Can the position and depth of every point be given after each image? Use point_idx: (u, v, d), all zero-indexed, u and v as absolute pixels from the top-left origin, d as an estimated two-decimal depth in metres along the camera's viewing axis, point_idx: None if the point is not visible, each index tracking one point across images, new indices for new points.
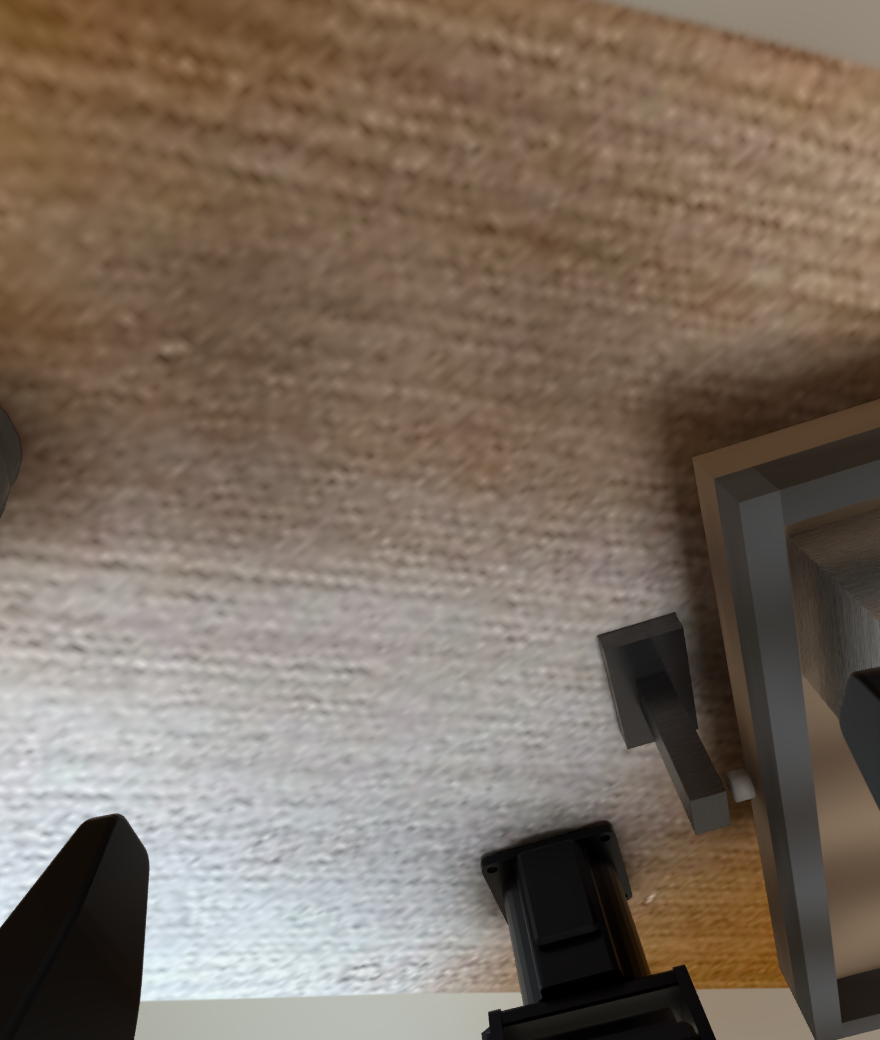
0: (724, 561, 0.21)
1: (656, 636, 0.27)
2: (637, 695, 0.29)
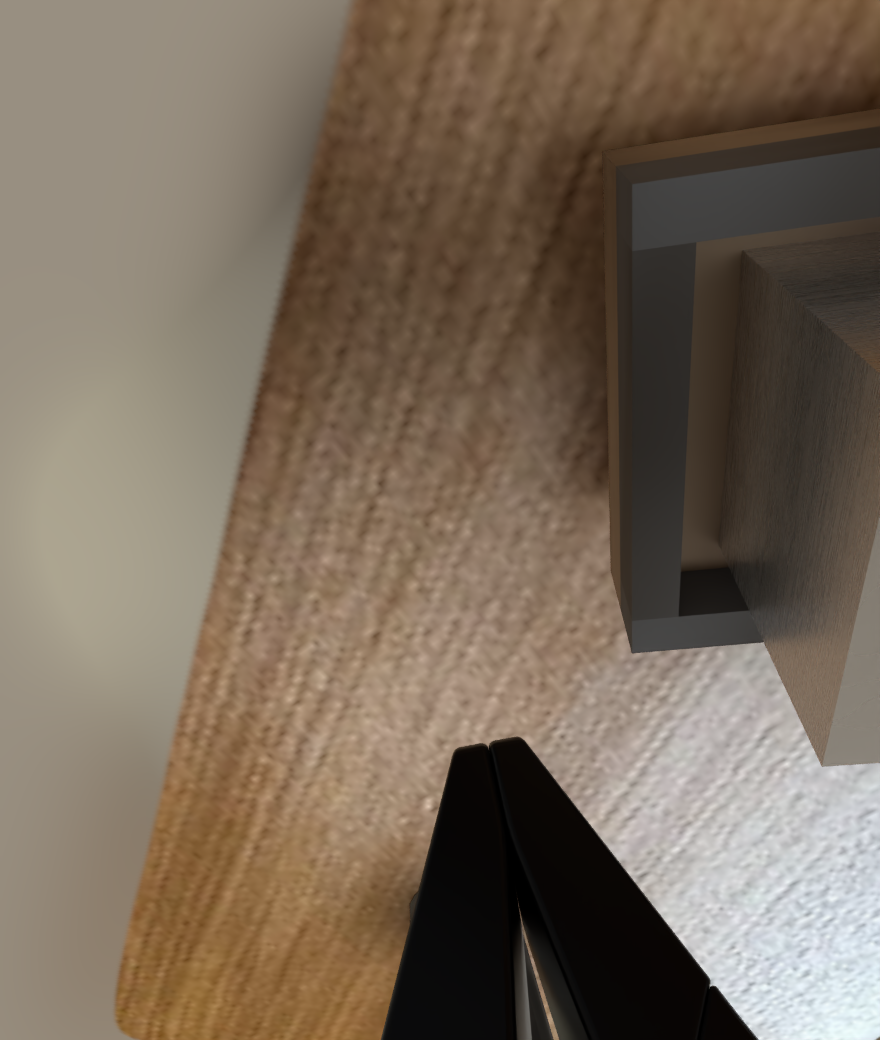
0: None
1: None
2: None
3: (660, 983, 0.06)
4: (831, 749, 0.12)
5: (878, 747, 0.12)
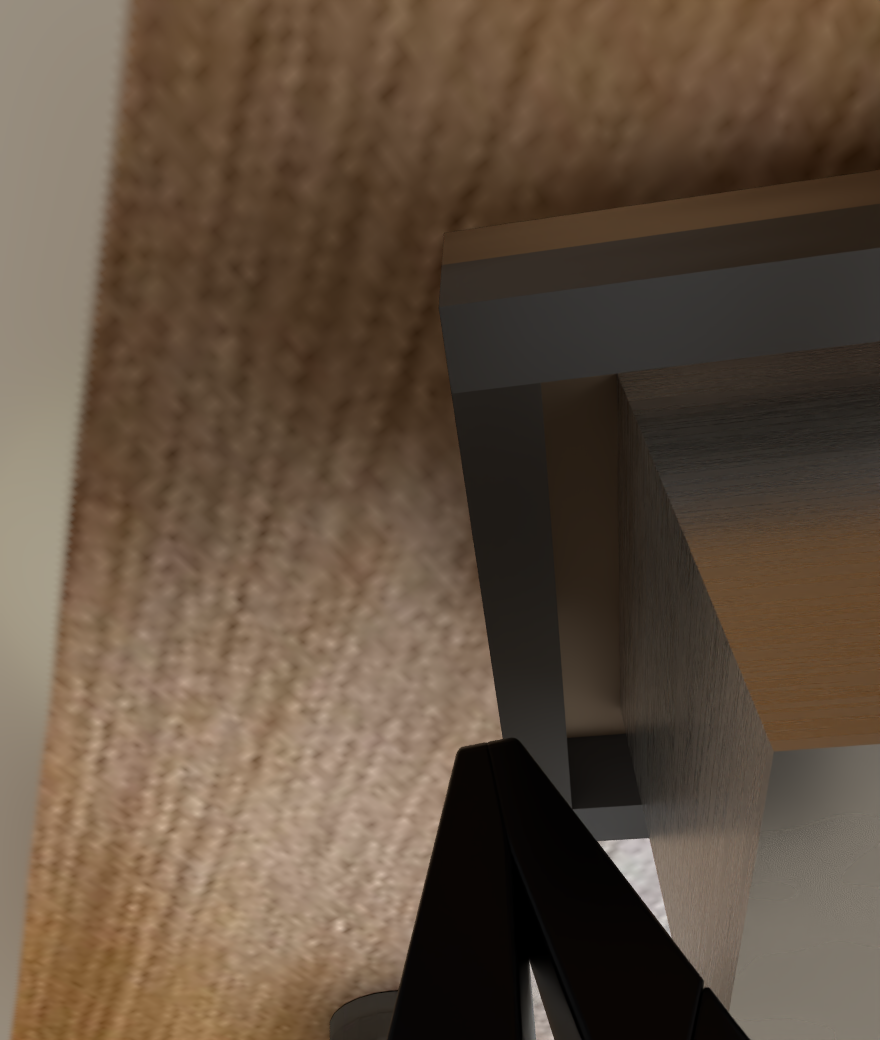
0: None
1: None
2: None
3: (654, 984, 0.06)
4: None
5: None
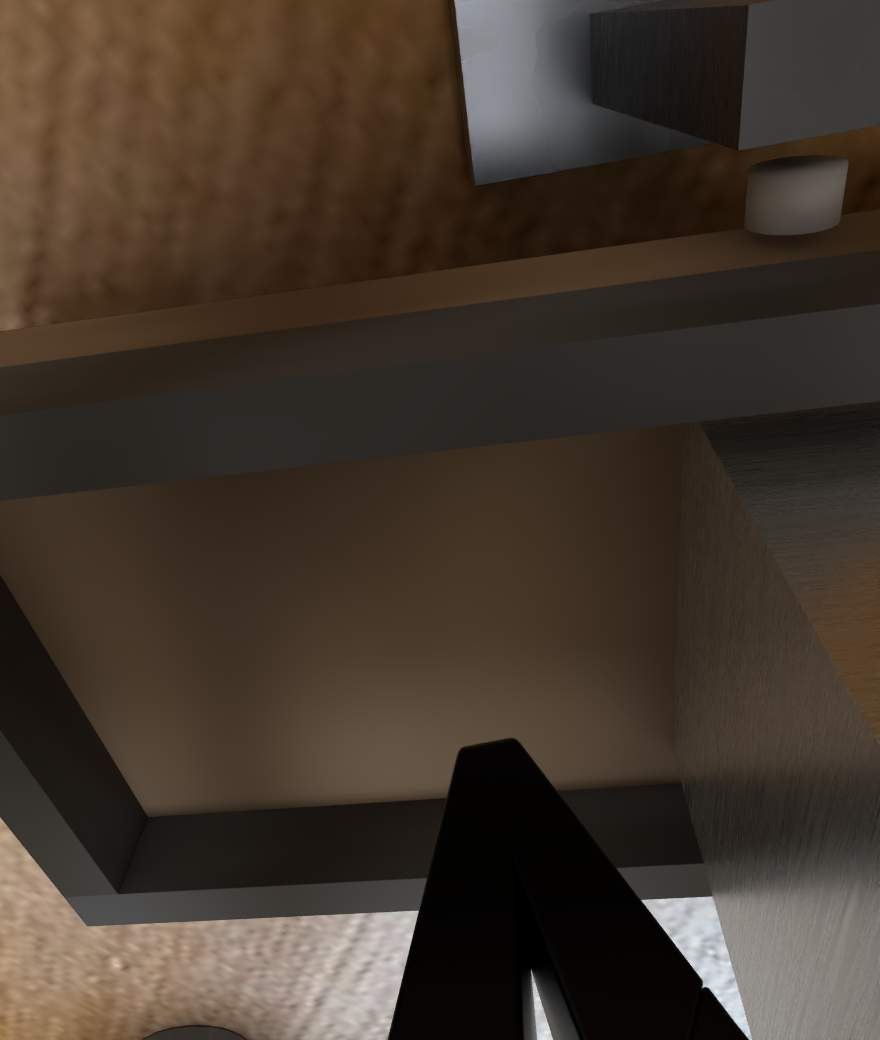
0: None
1: None
2: None
3: (653, 984, 0.06)
4: None
5: None
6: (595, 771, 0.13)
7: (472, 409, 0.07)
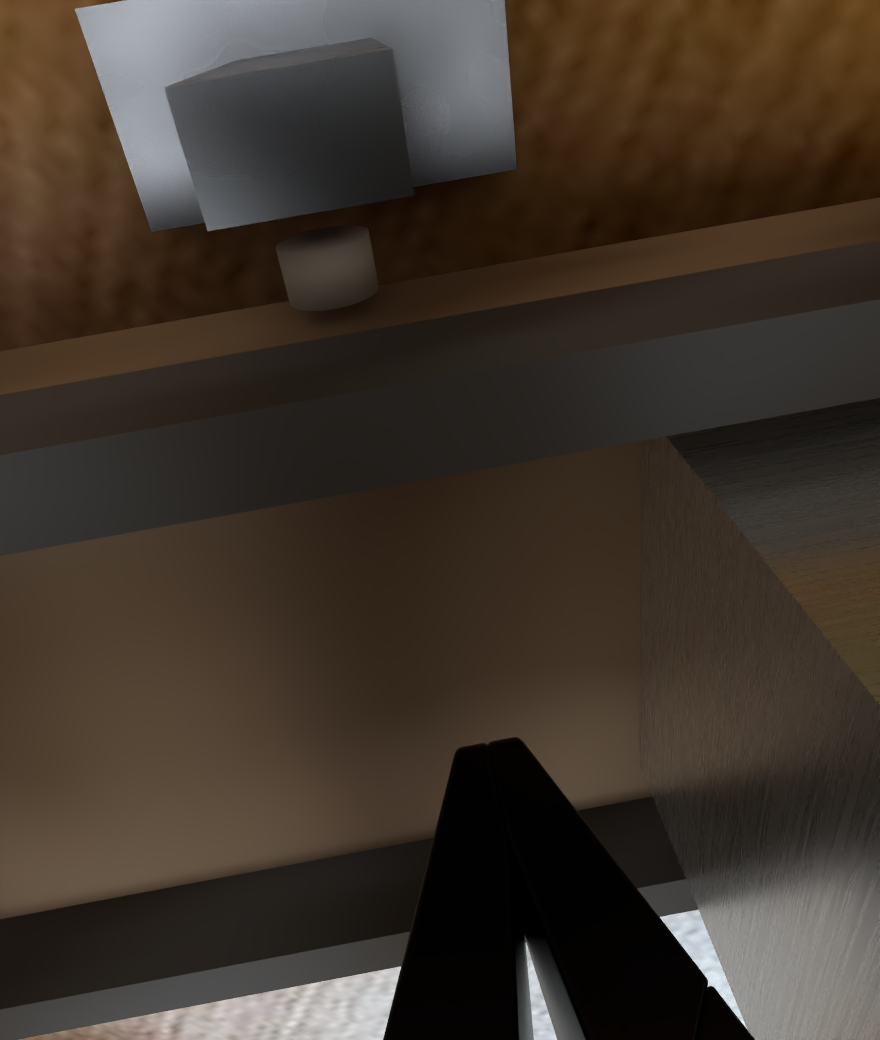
0: None
1: None
2: None
3: (658, 984, 0.06)
4: None
5: None
6: (296, 846, 0.12)
7: None
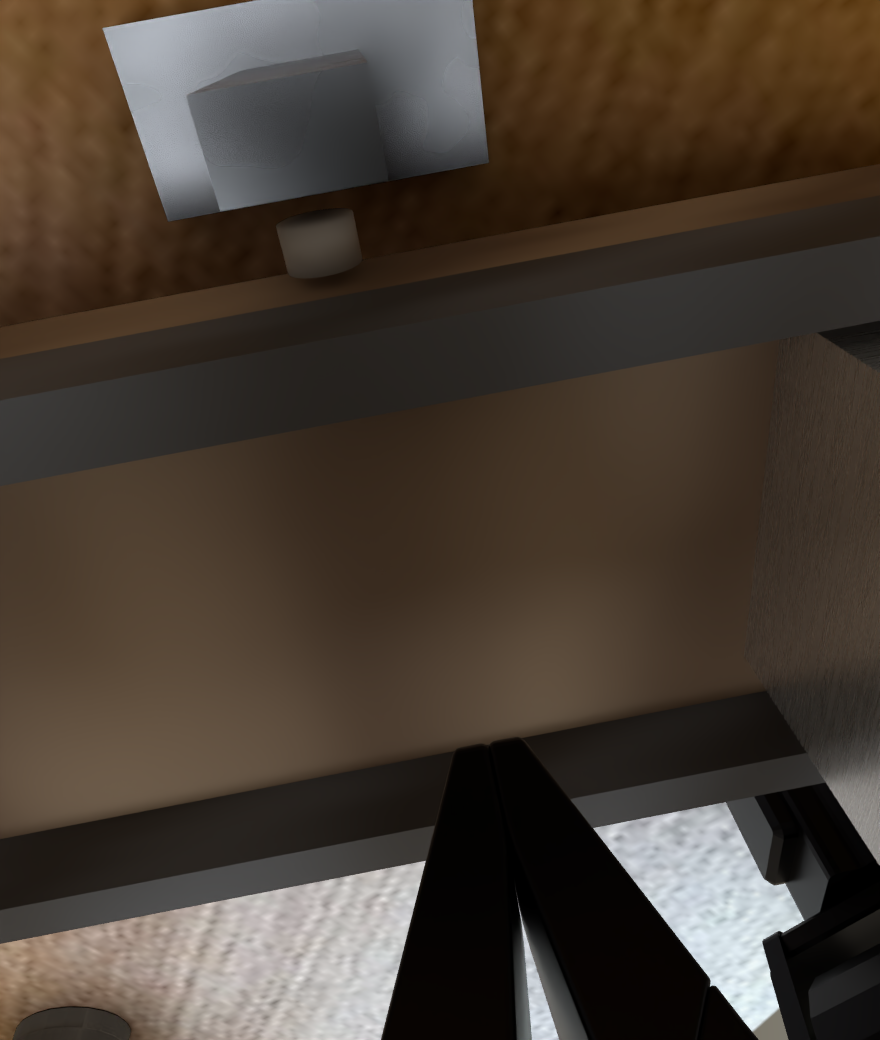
0: None
1: None
2: None
3: (660, 983, 0.06)
4: None
5: None
6: (300, 764, 0.14)
7: (9, 448, 0.08)
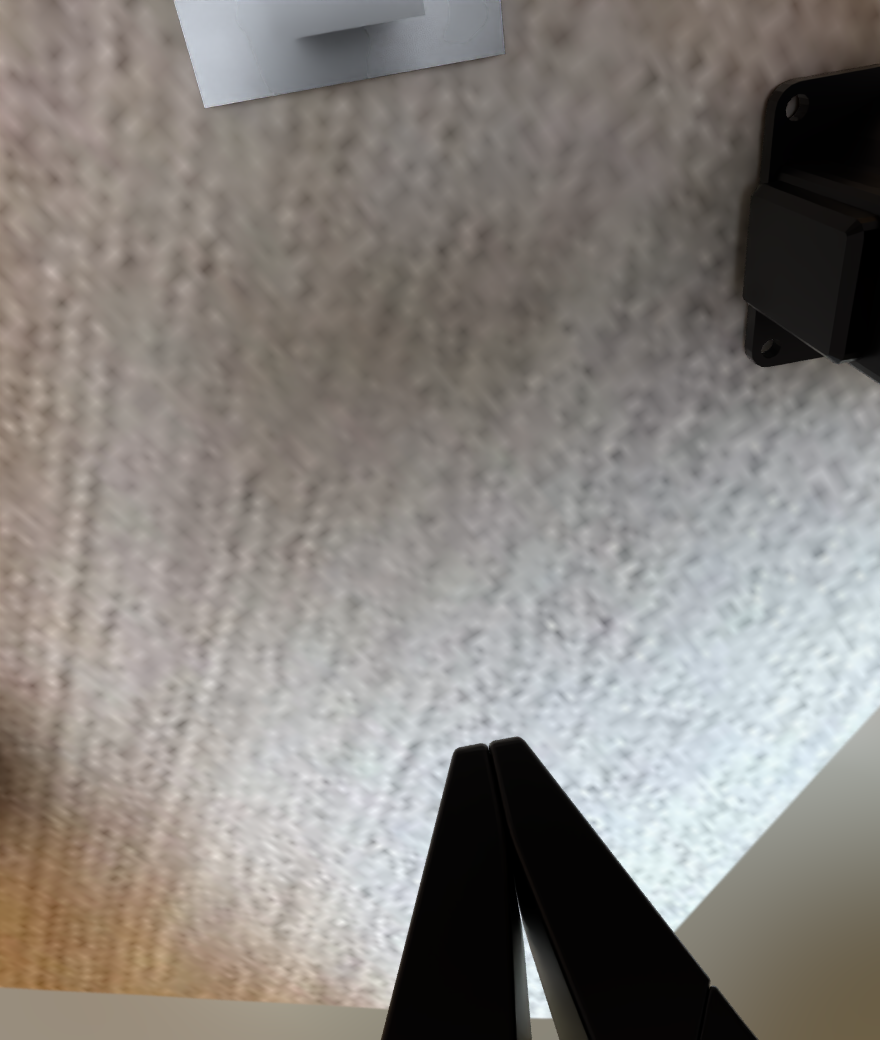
0: None
1: None
2: (341, 29, 0.14)
3: (660, 983, 0.06)
4: None
5: None
6: None
7: None
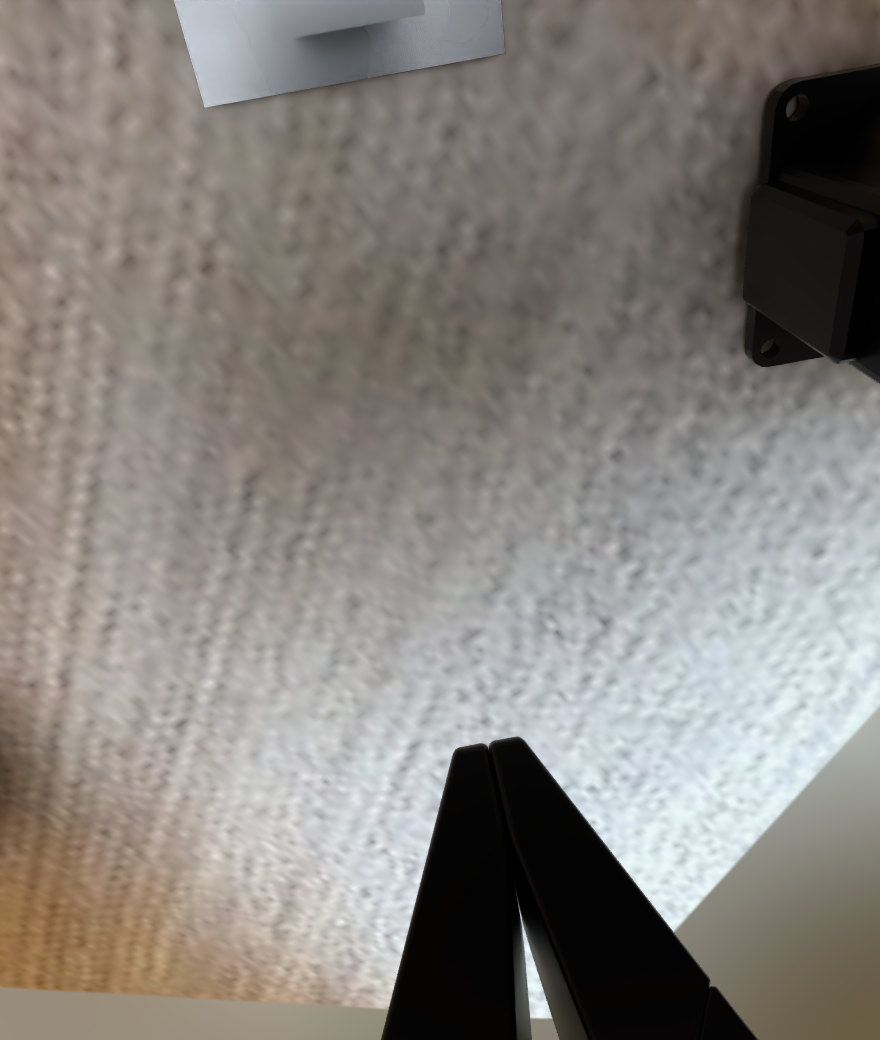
0: None
1: None
2: (341, 29, 0.14)
3: (660, 982, 0.06)
4: None
5: None
6: None
7: None
